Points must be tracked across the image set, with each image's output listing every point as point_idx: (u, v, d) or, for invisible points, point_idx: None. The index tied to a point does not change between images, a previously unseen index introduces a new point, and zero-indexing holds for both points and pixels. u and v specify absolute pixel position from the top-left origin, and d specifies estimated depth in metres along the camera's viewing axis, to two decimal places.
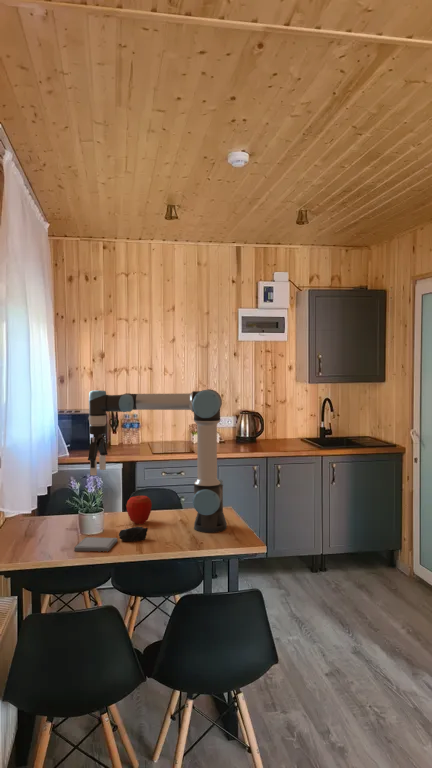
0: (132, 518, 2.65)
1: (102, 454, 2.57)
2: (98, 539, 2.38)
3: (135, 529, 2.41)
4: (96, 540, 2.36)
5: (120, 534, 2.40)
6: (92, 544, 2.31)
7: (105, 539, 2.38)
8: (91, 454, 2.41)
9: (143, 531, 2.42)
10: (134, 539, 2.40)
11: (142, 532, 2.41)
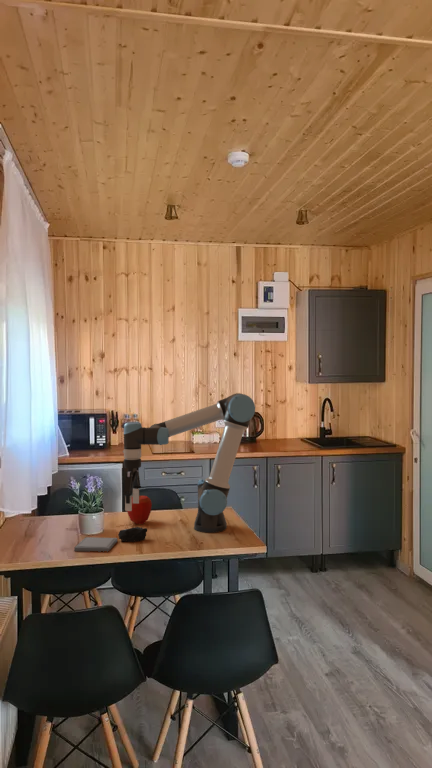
0: (132, 518, 2.65)
1: (135, 487, 2.50)
2: (98, 539, 2.38)
3: (134, 529, 2.40)
4: (96, 540, 2.36)
5: (119, 534, 2.40)
6: (92, 544, 2.31)
7: (105, 539, 2.38)
8: (127, 489, 2.34)
9: (142, 531, 2.41)
10: (133, 539, 2.40)
11: (141, 532, 2.41)
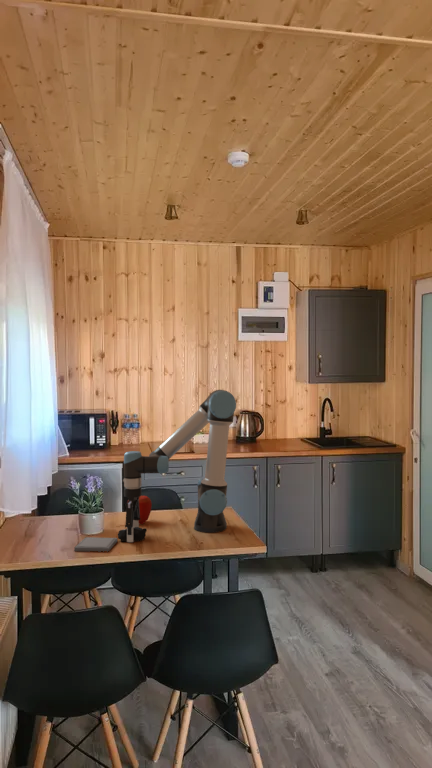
0: None
1: (135, 519, 2.49)
2: (98, 539, 2.38)
3: (134, 529, 2.40)
4: (96, 540, 2.36)
5: (119, 534, 2.40)
6: (92, 544, 2.31)
7: (105, 539, 2.38)
8: (128, 521, 2.35)
9: (142, 531, 2.41)
10: None
11: (141, 532, 2.41)
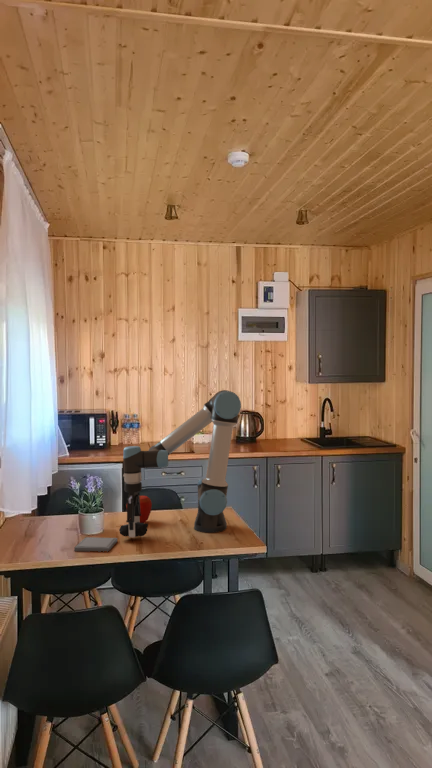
0: None
1: (136, 514, 2.48)
2: (98, 539, 2.38)
3: (135, 524, 2.41)
4: (96, 540, 2.36)
5: (120, 529, 2.41)
6: (92, 544, 2.31)
7: (105, 539, 2.38)
8: (129, 517, 2.36)
9: (143, 526, 2.41)
10: None
11: (142, 527, 2.41)
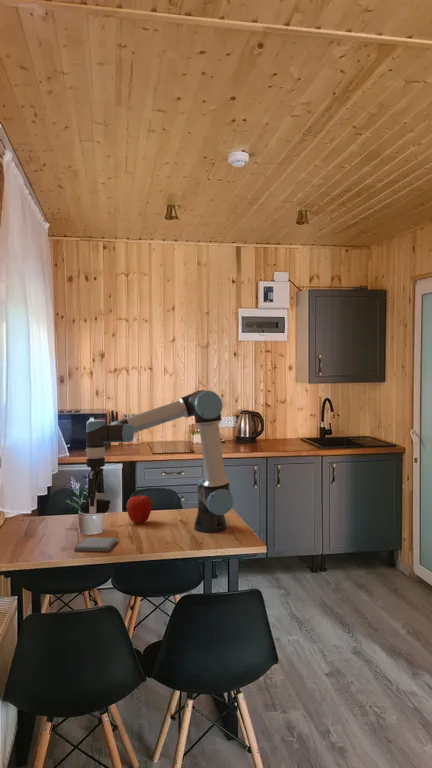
0: (132, 518, 2.65)
1: (99, 491, 2.38)
2: (98, 539, 2.38)
3: (96, 501, 2.30)
4: (96, 540, 2.36)
5: (81, 506, 2.31)
6: (92, 544, 2.31)
7: (105, 539, 2.38)
8: (90, 492, 2.26)
9: (105, 503, 2.31)
10: None
11: (104, 504, 2.31)
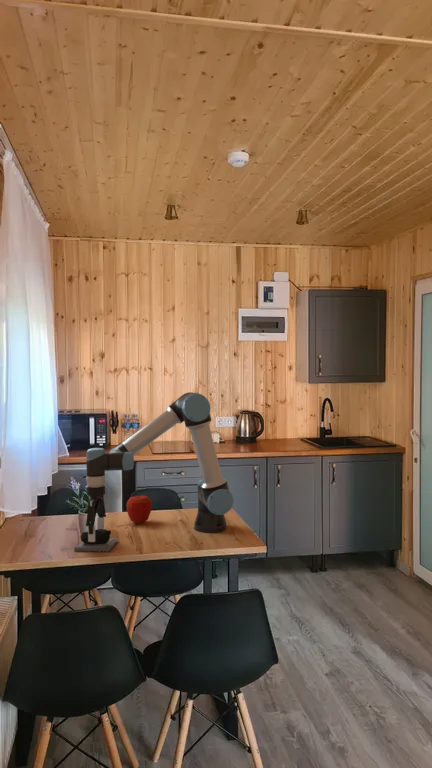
0: (132, 518, 2.65)
1: (100, 516, 2.40)
2: None
3: (97, 531, 2.31)
4: None
5: (81, 536, 2.31)
6: (92, 544, 2.31)
7: None
8: (89, 520, 2.25)
9: (105, 534, 2.32)
10: (96, 542, 2.31)
11: (104, 535, 2.31)
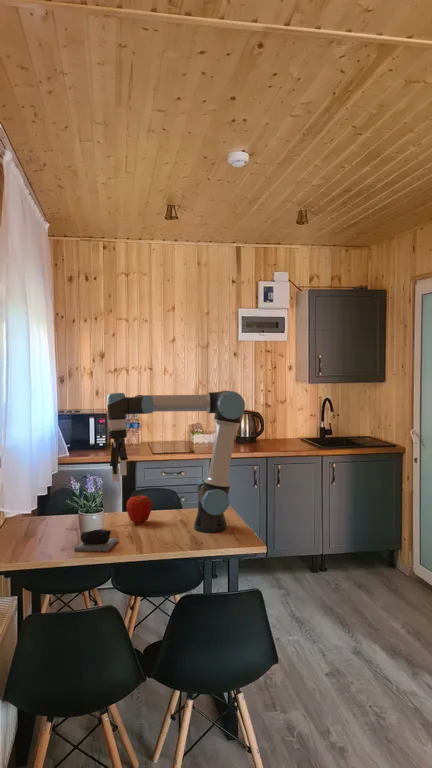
0: (132, 518, 2.65)
1: (122, 459, 2.47)
2: None
3: (97, 532, 2.31)
4: None
5: (81, 536, 2.31)
6: (92, 544, 2.31)
7: None
8: (113, 460, 2.31)
9: (105, 534, 2.32)
10: (95, 542, 2.30)
11: (104, 535, 2.31)
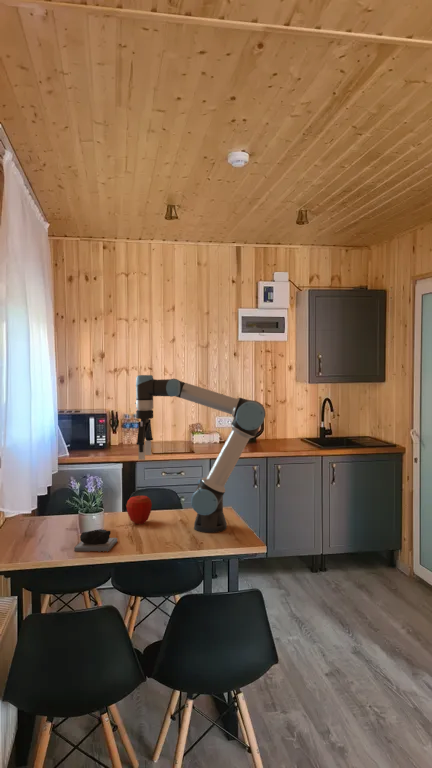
0: (132, 518, 2.65)
1: (148, 439, 2.56)
2: None
3: (96, 532, 2.31)
4: None
5: (81, 536, 2.31)
6: (92, 544, 2.31)
7: None
8: (140, 438, 2.40)
9: (105, 534, 2.31)
10: (95, 542, 2.30)
11: (104, 535, 2.31)
